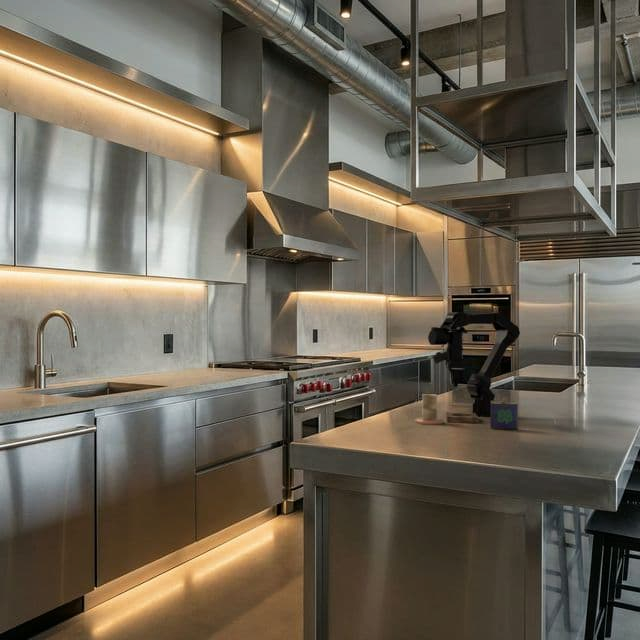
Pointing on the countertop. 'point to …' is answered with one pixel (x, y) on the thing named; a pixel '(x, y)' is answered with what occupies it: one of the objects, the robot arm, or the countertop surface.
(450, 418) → the pocket board
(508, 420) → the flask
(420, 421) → the terracotta plate
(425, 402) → the maple block
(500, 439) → the countertop surface
